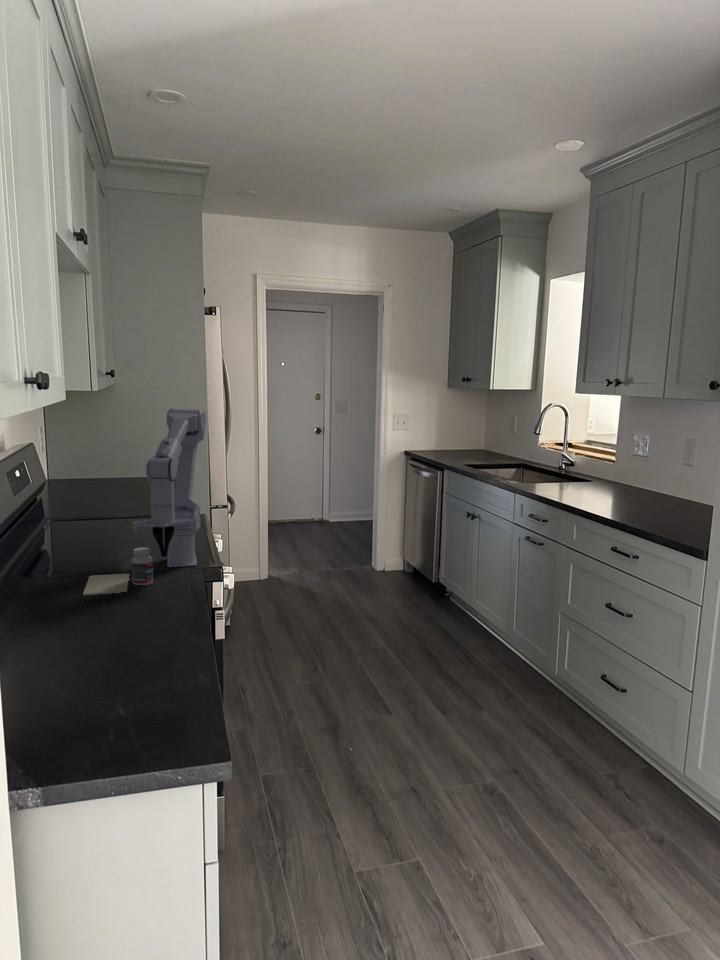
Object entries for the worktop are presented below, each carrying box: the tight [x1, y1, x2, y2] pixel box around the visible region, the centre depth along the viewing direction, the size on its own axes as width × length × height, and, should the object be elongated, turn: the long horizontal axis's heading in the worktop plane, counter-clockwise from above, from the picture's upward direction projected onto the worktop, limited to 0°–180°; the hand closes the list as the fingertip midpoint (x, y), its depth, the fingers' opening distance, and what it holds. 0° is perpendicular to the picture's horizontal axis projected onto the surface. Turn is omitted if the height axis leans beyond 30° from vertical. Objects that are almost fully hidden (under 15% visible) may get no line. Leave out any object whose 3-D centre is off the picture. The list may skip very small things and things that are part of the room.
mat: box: [82, 572, 131, 596], centre depth 165 cm, size 14×10×1 cm
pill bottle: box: [130, 546, 154, 586], centre depth 167 cm, size 5×5×9 cm
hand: (164, 555), depth 168 cm, fingers closed
